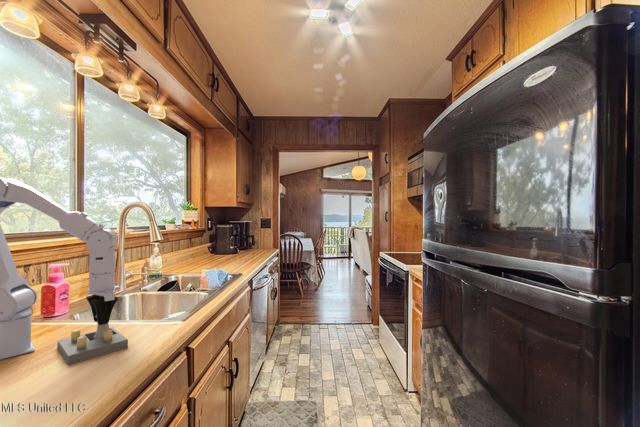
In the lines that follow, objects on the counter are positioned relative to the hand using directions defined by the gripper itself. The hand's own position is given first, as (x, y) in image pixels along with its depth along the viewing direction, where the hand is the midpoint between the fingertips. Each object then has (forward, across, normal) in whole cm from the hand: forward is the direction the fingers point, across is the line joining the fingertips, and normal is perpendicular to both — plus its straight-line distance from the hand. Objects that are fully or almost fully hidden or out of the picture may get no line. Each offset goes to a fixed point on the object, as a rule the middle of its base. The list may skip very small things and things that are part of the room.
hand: (101, 322), depth 79 cm
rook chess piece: (+5, 0, 0) cm, 5 cm away
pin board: (+5, -3, +2) cm, 6 cm away
